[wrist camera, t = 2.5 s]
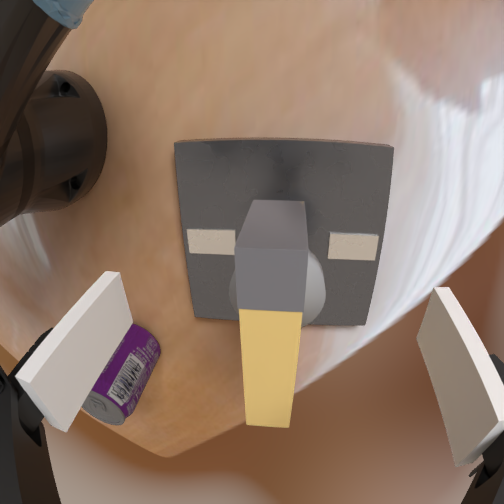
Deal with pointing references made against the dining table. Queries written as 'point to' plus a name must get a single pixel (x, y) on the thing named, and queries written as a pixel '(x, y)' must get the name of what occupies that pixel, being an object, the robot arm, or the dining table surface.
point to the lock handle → (273, 304)
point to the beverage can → (123, 377)
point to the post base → (287, 189)
